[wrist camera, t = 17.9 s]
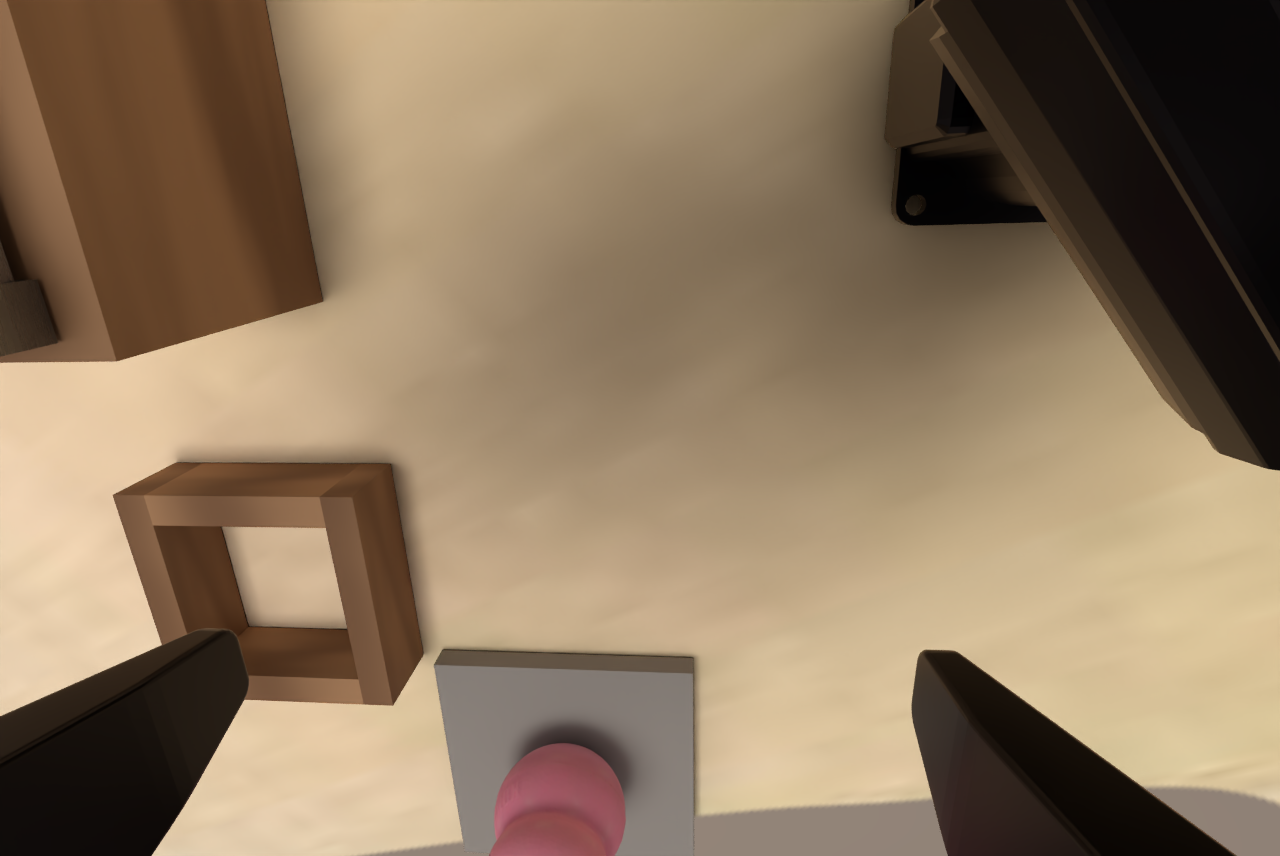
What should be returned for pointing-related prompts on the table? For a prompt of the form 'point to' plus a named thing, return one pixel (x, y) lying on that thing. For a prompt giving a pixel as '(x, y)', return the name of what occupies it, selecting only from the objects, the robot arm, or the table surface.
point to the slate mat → (574, 734)
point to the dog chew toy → (559, 805)
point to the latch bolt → (22, 313)
